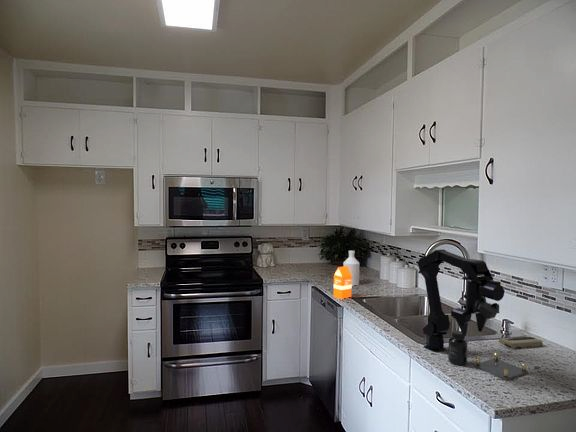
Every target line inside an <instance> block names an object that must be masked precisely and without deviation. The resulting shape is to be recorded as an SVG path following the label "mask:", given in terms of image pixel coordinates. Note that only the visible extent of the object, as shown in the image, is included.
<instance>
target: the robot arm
mask: <svg viewBox="0 0 576 432" xmlns="http://www.w3.org/2000/svg"><path fill="white" fill-rule="evenodd" d="M443 263H446V264H449V265H451V266H453V267H456V268H458V269H459V270H461V272H462V273H463V274H465V275H464V276H463V277H462V280H465V281H466V290H465V291H466V293H465V294H463V298H464V299H465V304H464V305H462V308H461V307H458V308H453V309H451V311H450V316H451V317H452V318H453V319H455V321H456V323H457V325H458V327H459V331H461V332H462V334H463V335H464V336H465V337H466V336H467V332H468V325H469V323H470V322H472V320H471V319H472V315H475V319H476V327H477V330H478V332H482V331H483V329H484V327H485V325H486V322H487V320H490V319H494V318H496V317H497V316H496V315H497V314H500V304H499V303H496V302H499V301H501V300H503V298H504V296H505V290H504V286H502V284H501V281H499V280H494V277H493V275H492V273H491V271H490V270H489V268H488V265H487V262H486V261H484V260H482V259H481V260H480V259H474V258H472V259H471V258H466V257H464V256H460V255H457V254H455V253H452V252H450V251H447V250H446V249H435V250H433V251H432V252H430V253H428V254H426V255H425V256H423V257H420V258H419V259H418V260H417V267H418V269H419V270H418V271H419V273H420V274H421V275H422V276H423V278H424V283H425V284H424V285H425V290H426V294H427V301H428V307H429V313H428V316H427V324H426V325H425V326H424V327H423V328H422V333H423V334H424V335H426V343H425V345H423V348H426V349H428V350H430V351H432V352H435V353H437V352H441V351H444V350H446V347H445V345H444V344H445V342H444V341H445V340H444V335H445V336H446V335H447V334H448V331H449V329H450V328H451V327H450V325H451V322H450V316H449V314H446V313H445V312H444V311H443V309H442V308H443V306H442V303H441V302H442V301H441V296H440V289H439V283H438V278H437V276H438V274H439V272H440V265H441V264H443ZM487 299H489V300H492V301H495V302H494V303H491V302H490V303H488V302H487Z"/></svg>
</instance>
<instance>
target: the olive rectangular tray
mask: <svg viewBox="0 0 576 432" xmlns="http://www.w3.org/2000/svg"><path fill="white" fill-rule="evenodd" d="M498 344H501V345H503V346H505V347H507V348H509V349H511V350H516V349H531V348H538V347H540V346H544V343H543V340H542V339H539V338H536V337H532V336H518V337H517V336H514V337H507V338H505V337H504V338H498Z"/></svg>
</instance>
